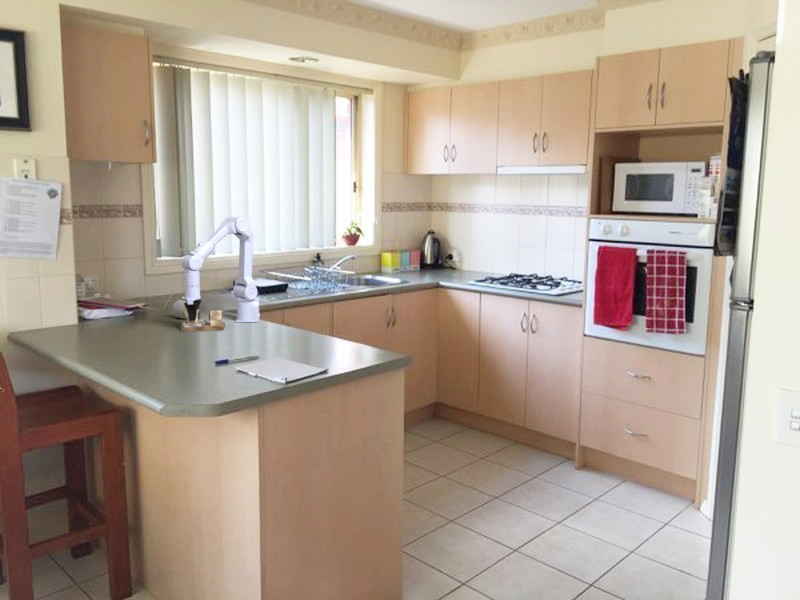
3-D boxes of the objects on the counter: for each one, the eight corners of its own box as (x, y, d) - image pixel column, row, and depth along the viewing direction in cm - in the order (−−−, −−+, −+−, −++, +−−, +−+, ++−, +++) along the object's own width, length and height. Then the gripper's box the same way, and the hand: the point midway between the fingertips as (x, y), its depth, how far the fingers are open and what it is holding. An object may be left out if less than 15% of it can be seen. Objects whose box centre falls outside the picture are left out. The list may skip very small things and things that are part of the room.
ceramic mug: (183, 321, 286) (183, 302, 285) (171, 318, 291) (171, 300, 290) (204, 317, 295) (204, 300, 294) (192, 315, 299) (192, 298, 298)
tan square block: (187, 324, 269) (186, 311, 268) (188, 322, 273) (188, 309, 272) (199, 324, 269) (198, 311, 269) (200, 322, 273) (200, 309, 272)
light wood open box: (225, 326, 278) (224, 309, 276) (223, 330, 269) (222, 313, 268) (184, 326, 275) (184, 309, 274) (180, 331, 266) (180, 313, 265)
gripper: (184, 282, 275) (185, 315, 277) (178, 288, 261) (180, 323, 263) (202, 282, 276) (203, 315, 278) (197, 288, 262) (198, 322, 264)
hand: (193, 319), depth 271 cm, fingers closed on tan square block, 4 cm apart
